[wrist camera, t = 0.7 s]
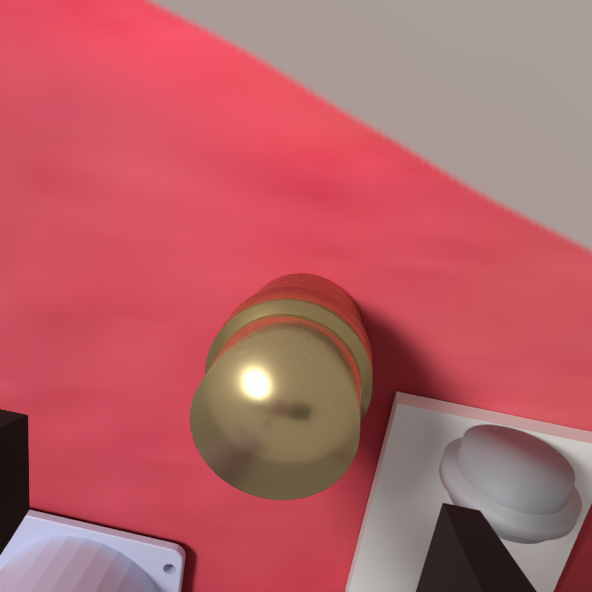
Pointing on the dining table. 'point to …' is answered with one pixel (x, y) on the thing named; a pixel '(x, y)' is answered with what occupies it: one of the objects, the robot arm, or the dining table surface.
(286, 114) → the dining table surface
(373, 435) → the dining table surface
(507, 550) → the robot arm
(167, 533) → the dining table surface
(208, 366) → the cylinder
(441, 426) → the fitting
